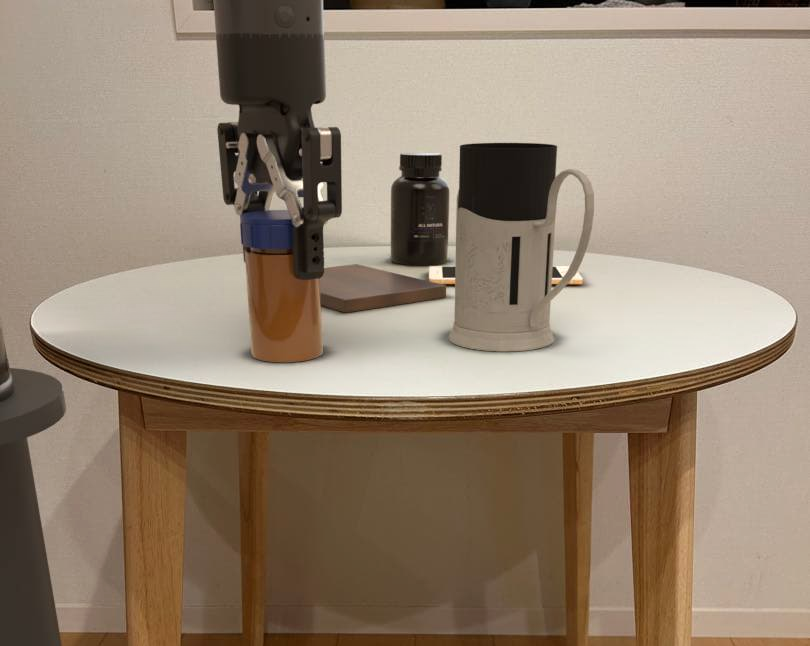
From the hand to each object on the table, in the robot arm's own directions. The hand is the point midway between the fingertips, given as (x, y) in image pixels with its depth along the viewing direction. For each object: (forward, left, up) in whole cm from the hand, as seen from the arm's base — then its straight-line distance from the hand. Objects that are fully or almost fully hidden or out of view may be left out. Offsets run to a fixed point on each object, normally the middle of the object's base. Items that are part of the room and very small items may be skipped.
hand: (282, 271), depth 77 cm
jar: (0, 0, -6) cm, 6 cm away
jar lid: (0, 0, +4) cm, 4 cm away
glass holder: (+17, -9, -7) cm, 20 cm away
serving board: (+18, +18, -6) cm, 26 cm away
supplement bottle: (+35, +29, -7) cm, 46 cm away
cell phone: (+35, +14, -6) cm, 38 cm away
